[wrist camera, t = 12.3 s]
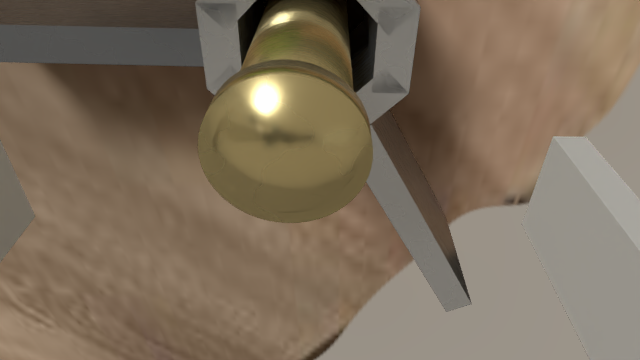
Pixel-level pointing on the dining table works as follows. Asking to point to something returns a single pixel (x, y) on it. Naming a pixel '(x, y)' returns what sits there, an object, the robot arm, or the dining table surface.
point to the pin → (290, 119)
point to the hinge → (226, 60)
